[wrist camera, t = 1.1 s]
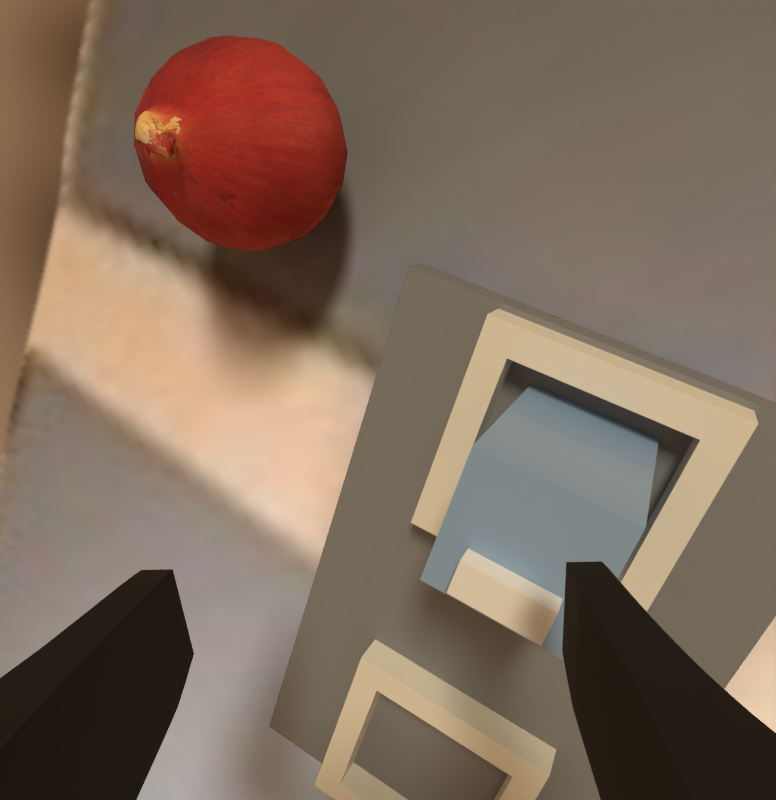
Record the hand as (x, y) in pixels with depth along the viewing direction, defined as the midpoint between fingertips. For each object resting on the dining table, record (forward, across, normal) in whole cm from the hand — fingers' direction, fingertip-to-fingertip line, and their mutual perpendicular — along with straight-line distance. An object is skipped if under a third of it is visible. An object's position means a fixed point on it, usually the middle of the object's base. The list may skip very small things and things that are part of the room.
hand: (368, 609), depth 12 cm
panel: (+10, -3, +9) cm, 13 cm away
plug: (+9, -5, +2) cm, 10 cm away
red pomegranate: (+14, +3, -7) cm, 16 cm away
